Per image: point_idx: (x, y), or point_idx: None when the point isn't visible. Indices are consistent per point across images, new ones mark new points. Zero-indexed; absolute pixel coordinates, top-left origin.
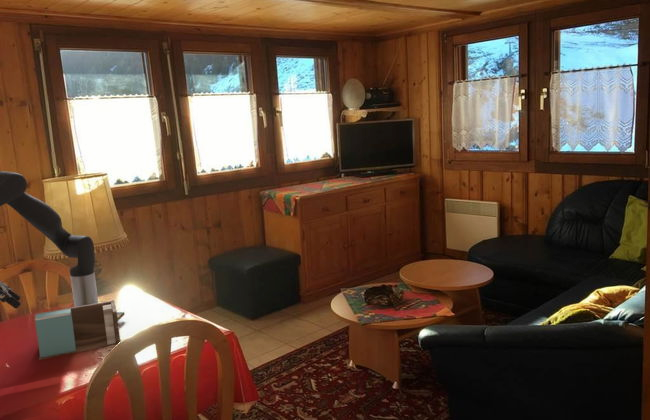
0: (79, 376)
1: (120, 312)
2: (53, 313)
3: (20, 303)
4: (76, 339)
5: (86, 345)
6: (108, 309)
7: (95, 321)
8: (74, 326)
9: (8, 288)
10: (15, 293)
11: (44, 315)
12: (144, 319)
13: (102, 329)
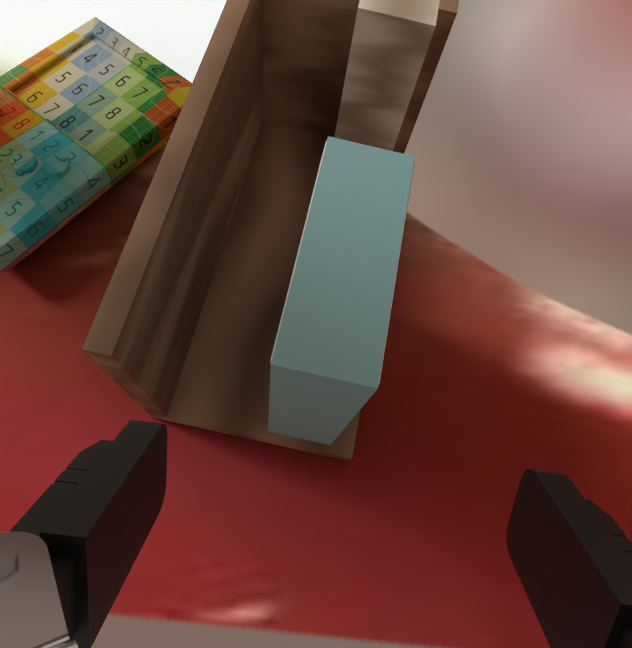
0: (592, 344)
1: (93, 26)
2: (350, 245)
3: (560, 473)
4: (218, 255)
5: None
6: (437, 10)
7: (241, 124)
8: (211, 215)
9: (40, 617)
10: (98, 475)
11: (349, 308)
12: (168, 10)
13: (249, 140)
